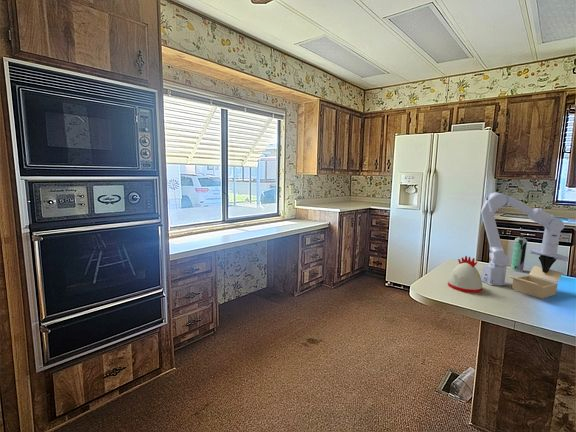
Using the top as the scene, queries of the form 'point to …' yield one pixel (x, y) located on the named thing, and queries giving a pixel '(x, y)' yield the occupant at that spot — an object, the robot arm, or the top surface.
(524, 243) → the spray can
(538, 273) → the far flap
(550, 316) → the top surface
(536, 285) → the near flap
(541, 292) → the carton
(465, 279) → the kitchen timer
